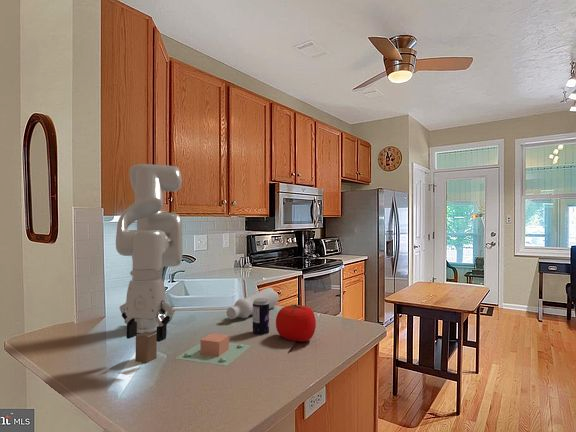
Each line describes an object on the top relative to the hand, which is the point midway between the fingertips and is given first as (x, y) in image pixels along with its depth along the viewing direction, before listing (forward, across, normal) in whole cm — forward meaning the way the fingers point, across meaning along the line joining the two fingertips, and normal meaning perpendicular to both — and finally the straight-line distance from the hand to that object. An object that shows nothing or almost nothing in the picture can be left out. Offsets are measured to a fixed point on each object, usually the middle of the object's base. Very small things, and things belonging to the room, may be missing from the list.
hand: (146, 338), depth 93 cm
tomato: (+7, +33, +32) cm, 47 cm away
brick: (+6, +14, +12) cm, 19 cm away
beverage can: (+7, +20, +33) cm, 39 cm away
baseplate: (+7, +14, +12) cm, 20 cm away
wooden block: (+7, -1, +1) cm, 7 cm away
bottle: (+6, +7, +58) cm, 58 cm away
